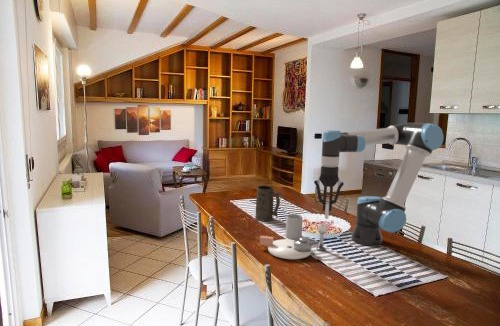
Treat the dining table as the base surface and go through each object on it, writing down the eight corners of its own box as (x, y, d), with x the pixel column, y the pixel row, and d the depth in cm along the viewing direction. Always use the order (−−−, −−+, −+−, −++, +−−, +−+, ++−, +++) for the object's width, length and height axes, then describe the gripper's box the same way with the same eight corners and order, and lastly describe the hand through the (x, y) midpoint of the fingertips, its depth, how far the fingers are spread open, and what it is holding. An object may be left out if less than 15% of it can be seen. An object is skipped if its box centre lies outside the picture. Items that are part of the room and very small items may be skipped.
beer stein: (251, 219, 210) (254, 187, 206) (257, 214, 219) (260, 184, 216) (275, 225, 204) (279, 192, 201) (281, 219, 214) (284, 188, 211)
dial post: (325, 248, 168) (327, 223, 166) (325, 251, 164) (327, 225, 162) (316, 247, 169) (318, 222, 167) (315, 250, 165) (317, 224, 163)
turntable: (312, 245, 169) (313, 235, 169) (309, 261, 150) (309, 250, 149) (264, 239, 175) (265, 229, 175) (255, 254, 156) (255, 244, 155)
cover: (312, 246, 163) (312, 236, 163) (310, 253, 156) (311, 242, 155) (295, 244, 165) (295, 234, 165) (292, 250, 158) (293, 240, 157)
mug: (304, 238, 181) (305, 218, 179) (289, 240, 178) (290, 219, 176) (293, 230, 192) (294, 211, 190) (279, 232, 189) (280, 212, 187)
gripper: (345, 165, 154) (341, 217, 158) (315, 163, 158) (312, 214, 161) (345, 168, 147) (341, 221, 151) (314, 165, 150) (311, 218, 154)
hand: (326, 217), depth 156 cm, fingers closed
